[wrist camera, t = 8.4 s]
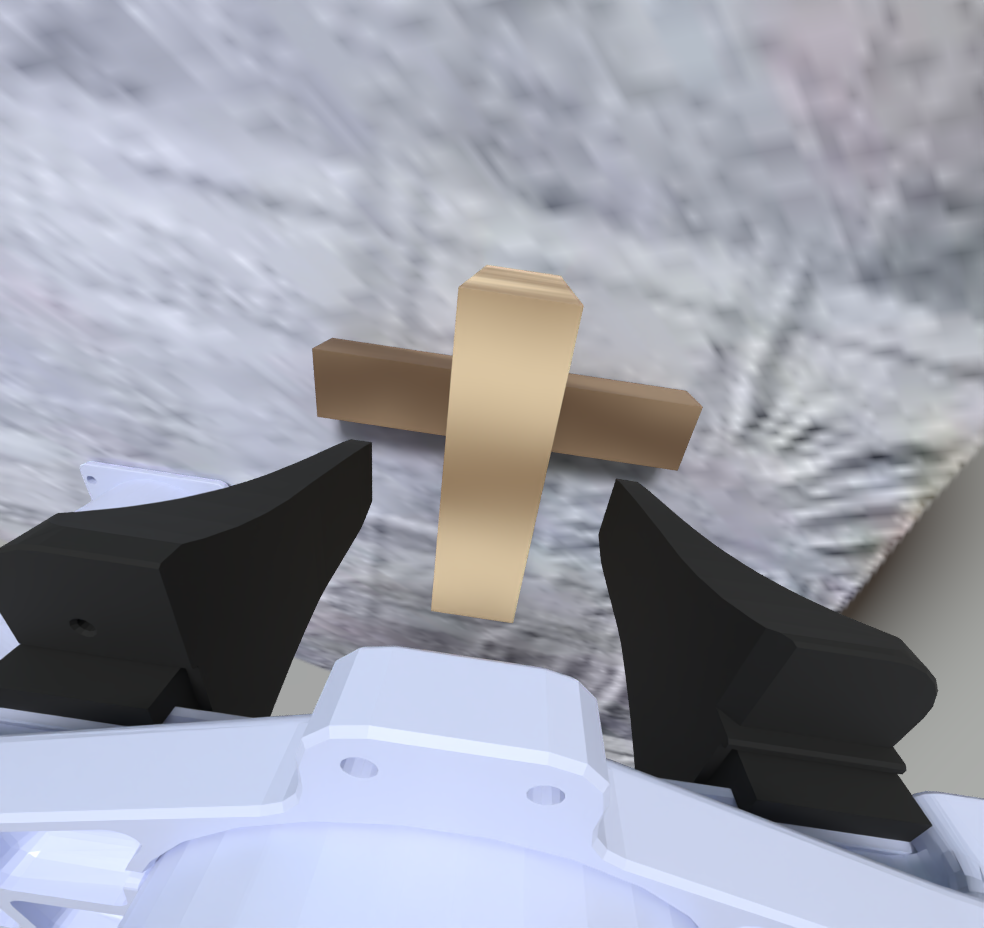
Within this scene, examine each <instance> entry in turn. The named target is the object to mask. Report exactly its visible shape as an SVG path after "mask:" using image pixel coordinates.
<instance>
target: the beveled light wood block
mask: <svg viewBox="0 0 984 928" xmlns="http://www.w3.org/2000/svg"><path fill="white" fill-rule="evenodd" d="M582 311H583V304H582V303H581V302H580V300H579V299H578V298H577V297H576V295H575V294H574V293H573V291H572V290H571V289H570V288H569V286H568V285H567V284H566V282H565V281H564V280H563V278H562V277H561V276H557V275H550V274H544V273H537V272H530V271H523V270H517V269H510V268H503V267H497V266H490V265H486V266H485V267H484V268H483V269H481V270H480V271H479V272H477V273H476V274H475V275H474V276H472V277H471V278H470V279H468V280H467V281H466V282H465V283H463V284H462V285H461V286H459V288H458V300H457V312H456V324H455V335H454V347H453V359H452V371H451V382H450V394H449V406H448V418H447V429H446V441H445V453H444V465H443V476H442V488H441V500H440V512H439V524H438V535H437V547H436V559H435V571H434V582H433V594H432V606H431V611H436V612H442V613H449V614H456V615H462V616H469V617H475V618H482V619H489V620H495V621H502V622H509V623H513V620H514V616H515V611H516V607H517V602H518V598H519V593H520V589H521V584H522V580H523V575H524V571H525V566H526V562H527V557H528V553H529V548H530V544H531V539H532V535H533V530H534V526H535V521H536V517H537V513H538V508H539V504H540V499H541V495H542V490H543V486H544V481H545V477H546V472H547V468H548V463H549V459H550V454H551V450H552V445H553V441H554V436H555V432H556V427H557V423H558V418H559V414H560V409H561V405H562V400H563V396H564V391H565V387H566V383H567V378H568V374H569V369H570V365H571V360H572V356H573V351H574V347H575V342H576V338H577V333H578V329H579V324H580V320H581V315H582Z"/></svg>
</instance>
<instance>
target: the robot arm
mask: <svg viewBox="0 0 984 928" xmlns="http://www.w3.org/2000/svg"><path fill="white" fill-rule="evenodd" d="M80 471H81V474H82V476H83V479H84V481H85V484H86V487H87V489H88V492H89V494H90V497H91V499H92V501H91V502H89V503H88V504H86V505H84V506H83V507H81V508H80V509H78V510H76V511H75V512H68V513H58V514H55V515H53V516H52V517H50V518H49V519H47V520H45V521H44V522H42V523H40V524H39V525H37V526H36V527H34V528H32V529H31V530H29V531H27V532H26V533H24V534H22V535H21V536H19V537H17V538H16V539H14V540H12V541H11V542H9V543H7V544H5V545H4V546H2V547H1V548H0V928H984V798H977V797H970V796H964V795H957V794H949V793H944V792H937V791H936V792H935V791H925V792H920V793H916V794H913V795H911V793H910V792H909V790H908V789H907V787H906V786H905V785H904V783H903V782H902V780H901V779H900V777H899V776H898V774H903V773H904V772H905V771H906V765H905V763H904V762H903V760H902V759H901V757H900V756H899V755H898V753H897V752H896V750H895V749H894V748H893V746H894V745H895V744H896V743H897V742H899V741H900V740H901V739H902V738H903V737H904V736H905V735H906V734H907V733H908V732H909V731H910V730H911V729H912V728H914V727H915V726H916V725H917V723H919V722H920V721H921V720H922V719H923V718H924V717H925V716H926V715H927V713H928V712H929V711H930V710H931V708H932V707H933V704H934V702H935V699H936V696H937V692H938V689H937V683H936V679H935V677H934V676H933V675H932V674H931V672H930V671H929V670H928V669H927V667H926V666H925V665H924V664H923V663H922V662H921V661H920V660H919V659H918V658H917V657H916V655H915V654H914V653H913V652H912V651H911V650H910V649H909V648H908V647H907V646H906V644H905V643H904V642H903V641H902V640H901V639H899V638H898V637H896V636H893V635H890V634H888V633H885V632H883V631H880V630H878V629H876V628H873V627H871V626H868V625H866V624H863V623H861V622H858V621H856V620H853V619H851V618H848V617H846V616H843V615H841V614H839V613H837V612H834V611H832V610H830V609H828V608H826V607H824V606H821V605H819V604H817V603H815V602H813V601H811V600H809V599H806V598H804V597H802V596H800V595H798V594H796V593H794V592H792V591H790V590H789V589H787V588H785V587H783V586H781V585H779V584H777V583H776V582H774V581H772V580H770V579H768V578H767V577H765V576H763V575H761V574H759V573H758V572H756V571H754V570H753V569H751V568H749V567H748V566H746V565H744V564H743V563H741V562H740V561H738V560H737V559H735V558H734V557H732V556H731V555H729V554H727V553H726V552H724V551H723V550H721V549H720V548H719V547H717V546H716V545H714V544H713V543H712V542H710V541H709V540H708V539H706V538H705V537H704V536H702V535H701V534H700V533H698V532H697V531H696V530H695V529H693V528H692V527H691V526H690V525H688V524H687V523H686V522H685V521H683V520H682V519H681V518H680V517H679V516H677V515H676V514H675V513H674V512H673V511H672V510H670V509H669V508H668V507H667V506H666V505H665V504H664V503H662V502H661V501H660V500H659V499H658V498H657V497H655V496H654V495H653V494H652V493H651V492H650V491H648V490H647V489H646V488H645V487H643V486H642V485H641V484H639V483H638V482H634V481H628V480H621V479H616V481H615V484H614V487H613V490H612V493H611V497H610V500H609V503H608V506H607V509H606V512H605V515H604V519H603V522H602V525H601V528H600V531H599V534H598V535H599V546H600V556H601V564H602V568H603V572H604V576H605V580H606V584H607V588H608V592H609V596H610V600H611V604H612V608H613V612H614V615H615V619H616V623H617V627H618V631H619V636H620V641H621V646H622V653H623V660H624V668H625V675H626V683H627V691H628V700H629V708H630V718H631V729H632V739H633V750H634V762H635V769H634V768H631V767H628V766H626V765H623V764H621V763H618V762H615V761H613V760H610V759H607V758H606V756H605V750H604V743H603V737H602V730H601V724H600V717H599V711H598V704H597V699H596V698H595V697H594V696H593V695H592V694H591V693H590V692H589V691H588V690H587V689H586V688H585V687H584V686H583V685H582V684H581V683H580V682H579V681H578V680H576V679H575V678H573V677H570V676H567V675H564V674H561V673H558V672H556V671H553V670H550V669H547V668H543V667H537V666H530V665H523V664H516V663H510V662H503V661H496V660H489V659H483V658H476V657H469V656H462V655H456V654H449V653H442V652H435V651H429V650H422V649H415V648H408V647H402V646H369V647H362V648H359V649H357V650H355V651H353V652H351V653H350V654H348V655H346V656H344V657H342V658H340V659H338V660H336V662H335V664H334V666H333V669H332V671H331V673H330V675H329V678H328V680H327V682H326V684H325V686H324V689H323V691H322V693H321V695H320V698H319V700H318V702H317V704H316V707H315V709H314V711H313V713H312V714H301V715H286V716H272V717H270V716H271V713H272V710H273V708H274V705H275V703H276V700H277V697H278V695H279V693H280V690H281V688H282V685H283V683H284V680H285V678H286V675H287V673H288V670H289V667H290V665H291V662H292V660H293V658H294V656H295V653H296V651H297V649H298V646H299V644H300V642H301V639H302V637H303V635H304V632H305V630H306V628H307V626H308V623H309V621H310V619H311V617H312V615H313V612H314V610H315V608H316V606H317V604H318V601H319V599H320V597H321V596H322V594H323V592H324V590H325V588H326V586H327V585H328V583H329V581H330V580H331V578H332V576H333V575H334V573H335V571H336V570H337V568H338V566H339V565H340V563H341V561H342V560H343V558H344V556H345V555H346V553H347V551H348V550H349V548H350V546H351V545H352V543H353V541H354V539H355V538H356V536H357V534H358V533H359V531H360V529H361V527H362V525H363V522H364V520H365V518H366V515H367V513H368V510H369V508H370V505H371V503H372V442H365V441H358V440H352V439H351V440H348V441H345V442H342V443H340V444H338V445H335V446H333V447H331V448H329V449H326V450H324V451H322V452H320V453H318V454H315V455H313V456H311V457H309V458H307V459H304V460H302V461H300V462H297V463H295V464H292V465H290V466H287V467H285V468H282V469H280V470H277V471H275V472H272V473H270V474H267V475H265V476H262V477H259V478H256V479H253V480H250V481H247V482H243V483H240V484H237V485H233V486H230V487H229V486H228V485H227V484H226V483H225V482H223V481H220V480H214V479H207V478H201V477H194V476H187V475H181V474H174V473H167V472H161V471H154V470H147V469H141V468H134V467H127V466H121V465H114V464H107V463H101V462H94V461H88V462H86V463H84V464H82V465H81V466H80Z"/></svg>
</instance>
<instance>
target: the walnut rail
mask: <svg viewBox="0 0 984 928" xmlns="http://www.w3.org/2000/svg"><path fill="white" fill-rule="evenodd" d="M312 352H313V365H314V378H315V392H316V405H317V417H323V418H330V419H336V420H343V421H350V422H356V423H363V424H370V425H376V426H383V427H390V428H396V429H403V430H410V431H416V432H423V433H430V434H436V435H443V436H446V429H447V418H448V406H449V394H450V382H451V371H452V359H453V356H450V355H443V354H436V353H430V352H423V351H416V350H410V349H403V348H396V347H389V346H383V345H376V344H369V343H363V342H356V341H349V340H343V339H336V338H331V339H329V340H327V341H325V342H324V343H322V344H320V345H318V346H316V347H314V348H312ZM702 408H703V407H702V406H701V405H700V404H699V403H698V402H697V401H696V400H695V399H694V398H693V397H692V396H691V395H690V394H689V393H688V392H687V391H684V390H677V389H670V388H664V387H657V386H650V385H644V384H637V383H630V382H623V381H617V380H610V379H603V378H597V377H590V376H583V375H577V374H570V373H569V374H568V378H567V383H566V387H565V391H564V396H563V400H562V405H561V409H560V414H559V418H558V423H557V427H556V432H555V436H554V441H553V445H552V450H551V452H556V453H563V454H570V455H576V456H583V457H590V458H596V459H603V460H610V461H616V462H623V463H630V464H636V465H643V466H650V467H656V468H663V469H670V470H676V471H678V468H679V466H680V463H681V461H682V458H683V456H684V453H685V450H686V448H687V445H688V443H689V440H690V438H691V435H692V433H693V430H694V428H695V425H696V423H697V420H698V418H699V415H700V413H701V410H702Z"/></svg>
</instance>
